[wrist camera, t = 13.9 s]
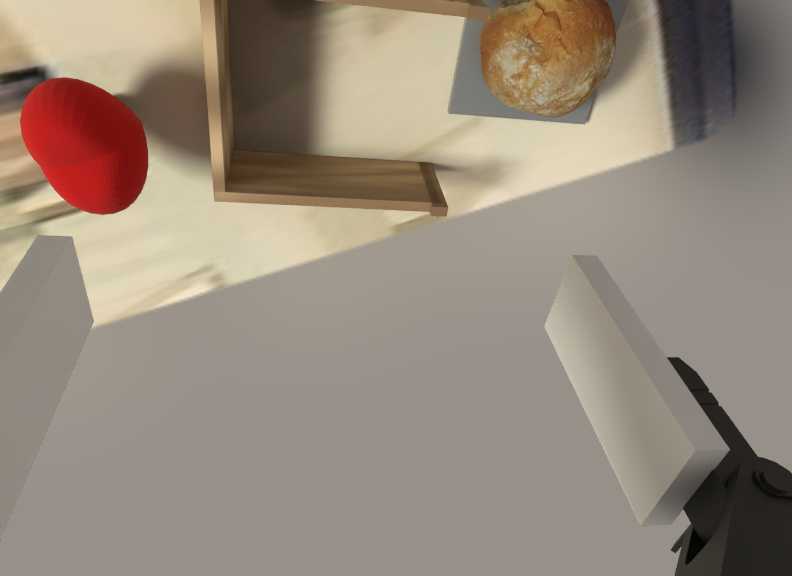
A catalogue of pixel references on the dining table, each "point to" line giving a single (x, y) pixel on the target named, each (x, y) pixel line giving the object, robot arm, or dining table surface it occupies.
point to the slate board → (475, 94)
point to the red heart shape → (86, 144)
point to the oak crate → (310, 174)
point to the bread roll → (547, 53)
